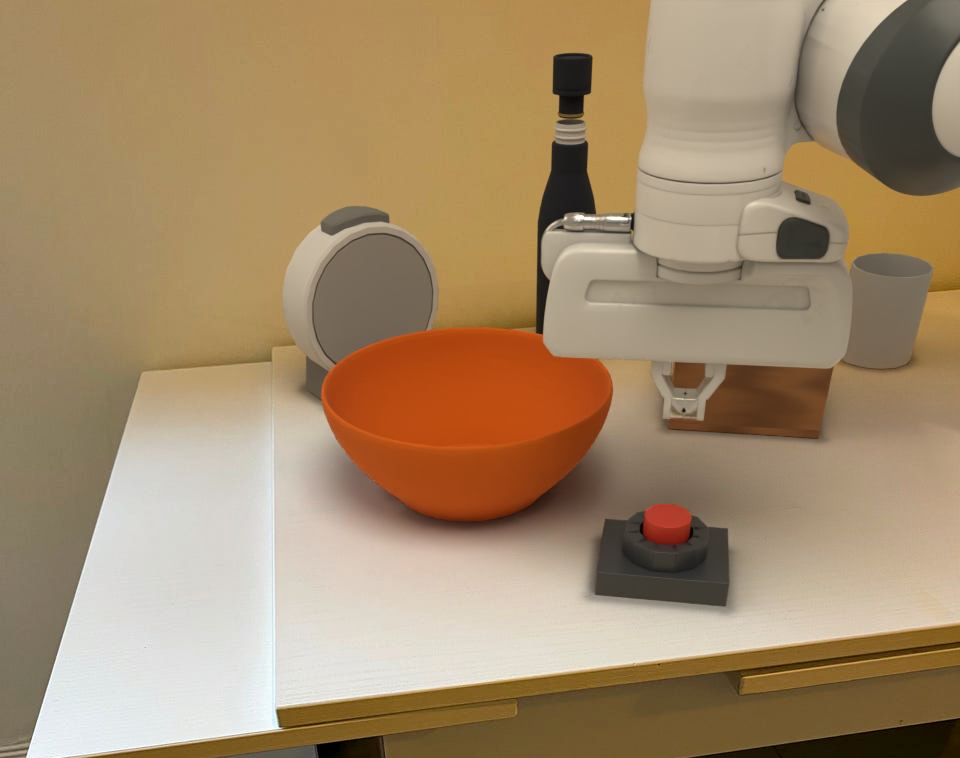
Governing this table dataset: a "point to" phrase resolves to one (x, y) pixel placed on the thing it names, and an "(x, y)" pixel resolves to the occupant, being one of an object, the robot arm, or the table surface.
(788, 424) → the oak box
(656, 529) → the button
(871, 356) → the cup
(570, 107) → the wine bottle
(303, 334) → the alarm clock
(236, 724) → the table surface
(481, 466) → the bowl
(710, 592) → the button block
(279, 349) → the table surface
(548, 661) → the table surface
